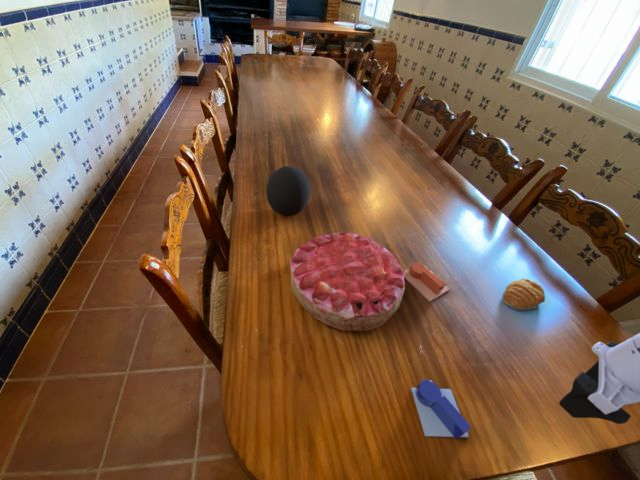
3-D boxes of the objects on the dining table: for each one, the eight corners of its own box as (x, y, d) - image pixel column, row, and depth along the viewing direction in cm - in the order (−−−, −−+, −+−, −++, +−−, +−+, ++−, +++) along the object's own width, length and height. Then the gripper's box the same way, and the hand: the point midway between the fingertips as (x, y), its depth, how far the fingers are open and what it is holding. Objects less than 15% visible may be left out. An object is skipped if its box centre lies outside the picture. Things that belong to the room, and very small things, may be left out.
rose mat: (449, 290, 69) (449, 289, 69) (429, 302, 67) (430, 301, 66) (419, 264, 75) (419, 263, 75) (399, 273, 72) (400, 272, 72)
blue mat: (449, 389, 52) (450, 388, 52) (468, 437, 47) (469, 437, 47) (411, 388, 52) (411, 387, 52) (424, 436, 47) (425, 435, 46)
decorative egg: (308, 202, 92) (315, 160, 83) (305, 229, 83) (312, 184, 73) (269, 197, 93) (271, 154, 83) (262, 223, 83) (263, 177, 74)
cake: (423, 323, 61) (435, 298, 56) (306, 345, 57) (308, 321, 52) (372, 243, 80) (378, 220, 76) (282, 256, 76) (282, 232, 71)
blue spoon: (466, 429, 48) (475, 423, 46) (452, 442, 46) (460, 437, 44) (424, 380, 53) (431, 373, 51) (410, 390, 51) (416, 383, 50)
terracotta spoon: (443, 290, 69) (448, 282, 67) (433, 296, 67) (438, 288, 65) (415, 265, 74) (419, 257, 72) (405, 270, 73) (409, 262, 71)
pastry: (521, 319, 65) (531, 309, 62) (492, 296, 69) (501, 285, 67) (543, 302, 69) (553, 292, 66) (514, 281, 73) (523, 271, 71)
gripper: (644, 305, 41) (572, 348, 50) (598, 355, 35) (526, 394, 44) (716, 351, 36) (623, 390, 45) (678, 417, 30) (579, 446, 39)
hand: (579, 395), depth 44 cm, fingers open, 7 cm apart
